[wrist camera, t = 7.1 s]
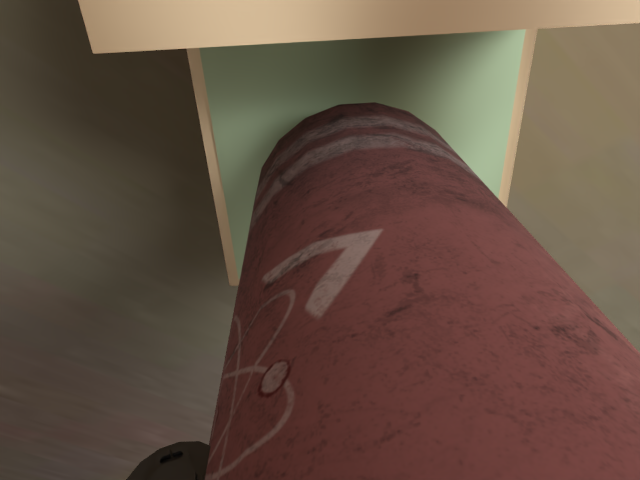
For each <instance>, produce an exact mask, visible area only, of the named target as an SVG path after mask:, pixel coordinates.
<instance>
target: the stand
mask: <svg viewBox="0 0 640 480" xmlns="http://www.w3.org/2000/svg"><path fill="white" fill-rule="evenodd" d="M78 2H79V5H80V9H81V12H82V16H83V20H84V23H85V27H86V30H87V34H88V37H89V41H90V45H91V48H92V52H93V54H97V53H114V52H132V51H150V50H168V49H185V48H186V49H187V55H188V60H189V66H190V71H191V76H192V82H193V87H194V93H195V98H196V104H197V109H198V115H199V120H200V126H201V131H202V137H203V142H204V148H205V153H206V159H207V164H208V169H209V175H210V180H211V186H212V191H213V197H214V202H215V208H216V213H217V219H218V224H219V230H220V235H221V241H222V246H223V252H224V257H225V262H226V268H227V273H228V279H229V284H230V286H239V281H240V276H241V270H242V265H243V260H244V254H245V249H246V244H247V238H248V233H249V227H250V222H251V217H252V211H253V206H254V201H255V196H256V191H257V186H258V182H259V177H260V173H261V168H262V166H263V165H264V163H265V161H266V160H267V158H268V157H269V155H270V153H271V152H272V150H273V149H274V147H275V145H276V144H277V142H278V140H279V139H281V138H282V137H283V136H284V135H285V134H287V133H288V132H289V131H290V130H291V129H293V128H294V127H295V126H296V125H297V124H299V123H300V122H301V121H302V120H303V119H305V118H306V117H309V116H311V115H314V114H316V113H319V112H321V111H324V110H326V109H329V108H331V107H334V106H336V105H339V104H354V103H370V102H376V103H380V104H384V105H387V106H391V107H395V108H398V109H402V110H406V111H409V112H410V113H412V114H413V115H415V116H416V117H417V118H419V119H420V120H422V121H423V122H425V123H426V124H428V125H429V126H430V127H432V128H433V129H435V130H436V131H437V132H438V133H439V134H440V136H441V137H442V138H443V139H444V140H445V141H446V142H447V143H448V144H449V145H450V146H451V148H452V149H453V150H454V151H455V152H456V153H457V154H458V155H459V156H460V157H461V158H462V160H463V161H464V162H465V163H466V164H467V165H468V166H469V167H470V168H471V169H472V171H473V172H474V173H475V174H476V175H477V176H478V177H479V178H480V179H481V180H482V181H483V183H484V184H485V185H486V186H487V187H488V188H489V189H490V190H491V191H492V192H493V193H494V195H495V196H496V197H497V198H498V199H499V200H500V201H501V202H502V203H503V204H504V205H505V207H507V202H508V196H509V190H510V184H511V179H512V173H513V167H514V161H515V155H516V150H517V144H518V138H519V132H520V127H521V121H522V115H523V109H524V104H525V98H526V92H527V86H528V80H529V75H530V69H531V63H532V57H533V52H534V46H535V40H536V34H537V29H540V28H558V27H575V26H593V25H611V24H629V23H640V0H78Z"/></svg>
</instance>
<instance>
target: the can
mask: <svg viewBox="0 0 640 480" xmlns="http://www.w3.org/2000/svg"><path fill="white" fill-rule="evenodd" d="M209 446H211V447H210V453H209V458H208V464H207V469H206V475H205V480H640V353H639V352H638V351H637V350H636V349H635V348H634V346H633V345H632V344H631V343H630V342H629V341H628V340H627V339H626V338H625V337H624V336H623V334H622V333H621V332H620V331H619V330H618V329H617V328H616V327H615V326H614V325H613V324H612V322H611V321H610V320H609V319H608V318H607V317H606V316H605V315H604V314H603V313H602V311H601V310H600V309H599V308H598V307H597V306H596V305H595V304H594V303H593V302H592V301H591V299H590V298H589V297H588V296H587V295H586V294H585V293H584V292H583V291H582V290H581V289H580V287H579V286H578V285H577V284H576V283H575V282H574V281H573V280H572V279H571V278H570V277H569V275H568V274H567V273H566V272H565V271H564V270H563V269H562V268H561V267H560V266H559V264H558V263H557V262H556V261H555V260H554V259H553V258H552V257H551V256H550V255H549V254H548V252H547V251H546V250H545V249H544V248H543V247H542V246H541V245H540V244H539V243H538V242H537V240H536V239H535V238H534V237H533V236H532V235H531V234H530V233H529V232H528V231H527V230H526V228H525V227H524V226H523V225H522V224H521V223H520V222H519V221H518V220H517V219H516V218H515V216H514V215H513V214H512V213H511V212H510V211H509V210H508V209H507V208H506V207H505V205H504V204H503V203H502V202H501V201H500V200H499V199H498V198H497V197H496V196H495V195H494V193H493V192H492V191H491V190H490V189H489V188H488V187H487V186H486V185H485V184H484V183H483V181H482V180H481V179H480V178H479V177H478V176H477V175H476V174H475V173H474V172H473V171H472V169H471V168H470V167H469V166H468V165H467V164H466V163H465V162H464V161H463V160H462V158H461V157H460V156H459V155H458V154H457V153H456V152H455V151H454V150H453V149H452V148H451V146H450V145H449V144H448V143H447V142H446V141H445V140H444V139H443V138H442V137H441V136H440V134H439V133H438V132H437V131H436V130H435V129H433V128H432V127H430V126H429V125H428V124H426V123H425V122H423V121H422V120H420V119H419V118H417V117H416V116H415V115H413V114H412V113H410V112H409V111H406V110H402V109H398V108H395V107H391V106H387V105H384V104H380V103H376V102H370V103H354V104H339V105H336V106H334V107H331V108H329V109H326V110H324V111H321V112H319V113H316V114H314V115H311V116H309V117H306V118H305V119H303V120H302V121H301V122H300V123H299V124H297V125H296V126H295V127H294V128H293V129H291V130H290V131H289V132H288V133H287V134H285V135H284V136H283V137H282V138H281V139H279V140H278V142H277V144H276V145H275V147H274V149H273V150H272V152H271V153H270V155H269V157H268V158H267V160H266V161H265V163H264V165H263V166H262V168H261V173H260V177H259V182H258V186H257V191H256V196H255V201H254V206H253V211H252V217H251V222H250V227H249V233H248V238H247V244H246V249H245V254H244V260H243V265H242V270H241V276H240V281H239V287H238V292H237V297H236V303H235V308H234V313H233V319H232V324H231V329H230V335H229V340H228V346H227V351H226V356H225V362H224V367H223V372H222V378H221V383H220V388H219V394H218V399H217V405H216V410H215V415H214V421H213V426H212V431H211V437H210V442H209Z"/></svg>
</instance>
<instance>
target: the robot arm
mask: <svg viewBox="0 0 640 480" xmlns="http://www.w3.org/2000/svg"><path fill="white" fill-rule="evenodd" d="M210 447H211V446H209V445H207V444H204V443H202V442H199V441H196V442H178V443H175V444H172V445H169V446H166V447H164V448H161V449H159V450H157V451H156V452H154V453H153V454H152V455H150V456H149V457H147V458H146V459H144V460H143V461H142V462H140V464H139V465H138V466H137V467H136V468H135V470H134V471H133V472H132V473H131V475H130V476H129V477H128V478H127V479H126V480H205V475H206V469H207V464H208V458H209V453H210Z"/></svg>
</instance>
